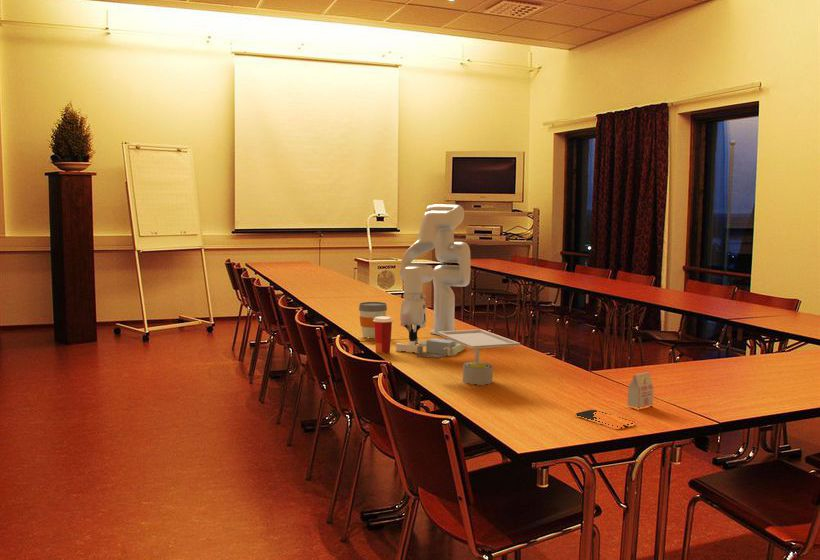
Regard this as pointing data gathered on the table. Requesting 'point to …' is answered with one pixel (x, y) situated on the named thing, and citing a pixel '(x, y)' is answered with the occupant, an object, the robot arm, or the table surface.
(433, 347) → the block
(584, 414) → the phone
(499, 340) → the solar panel model
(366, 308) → the reusable coffee cup
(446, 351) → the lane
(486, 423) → the table surface
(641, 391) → the grey tall gabled block
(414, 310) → the robot arm
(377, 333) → the paper cup
